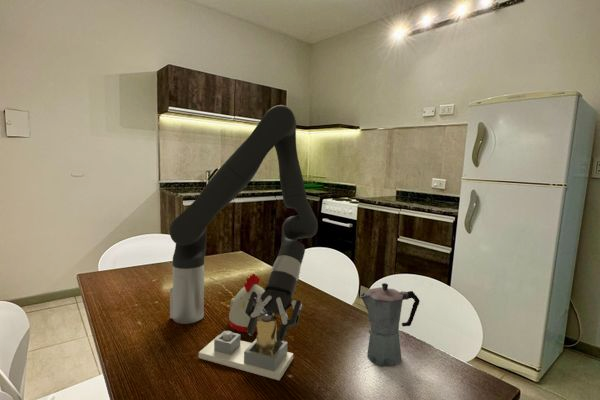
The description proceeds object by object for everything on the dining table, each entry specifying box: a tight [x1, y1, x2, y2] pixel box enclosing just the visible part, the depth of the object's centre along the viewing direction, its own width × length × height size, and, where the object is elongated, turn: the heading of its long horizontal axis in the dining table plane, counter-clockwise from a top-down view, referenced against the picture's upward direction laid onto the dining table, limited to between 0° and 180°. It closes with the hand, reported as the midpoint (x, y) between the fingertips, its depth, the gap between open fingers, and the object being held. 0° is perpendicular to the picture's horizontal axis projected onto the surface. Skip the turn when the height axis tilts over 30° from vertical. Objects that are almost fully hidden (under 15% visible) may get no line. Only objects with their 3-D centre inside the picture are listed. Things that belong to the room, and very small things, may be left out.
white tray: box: [198, 330, 294, 381], centre depth 82 cm, size 22×9×6 cm, turn 71°
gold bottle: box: [256, 312, 278, 357], centre depth 80 cm, size 5×5×11 cm
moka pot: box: [359, 282, 421, 367], centre depth 85 cm, size 10×15×20 cm, turn 95°
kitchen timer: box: [228, 273, 275, 333], centre depth 101 cm, size 14×14×15 cm
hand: (264, 338), depth 79 cm, fingers open, 7 cm apart
